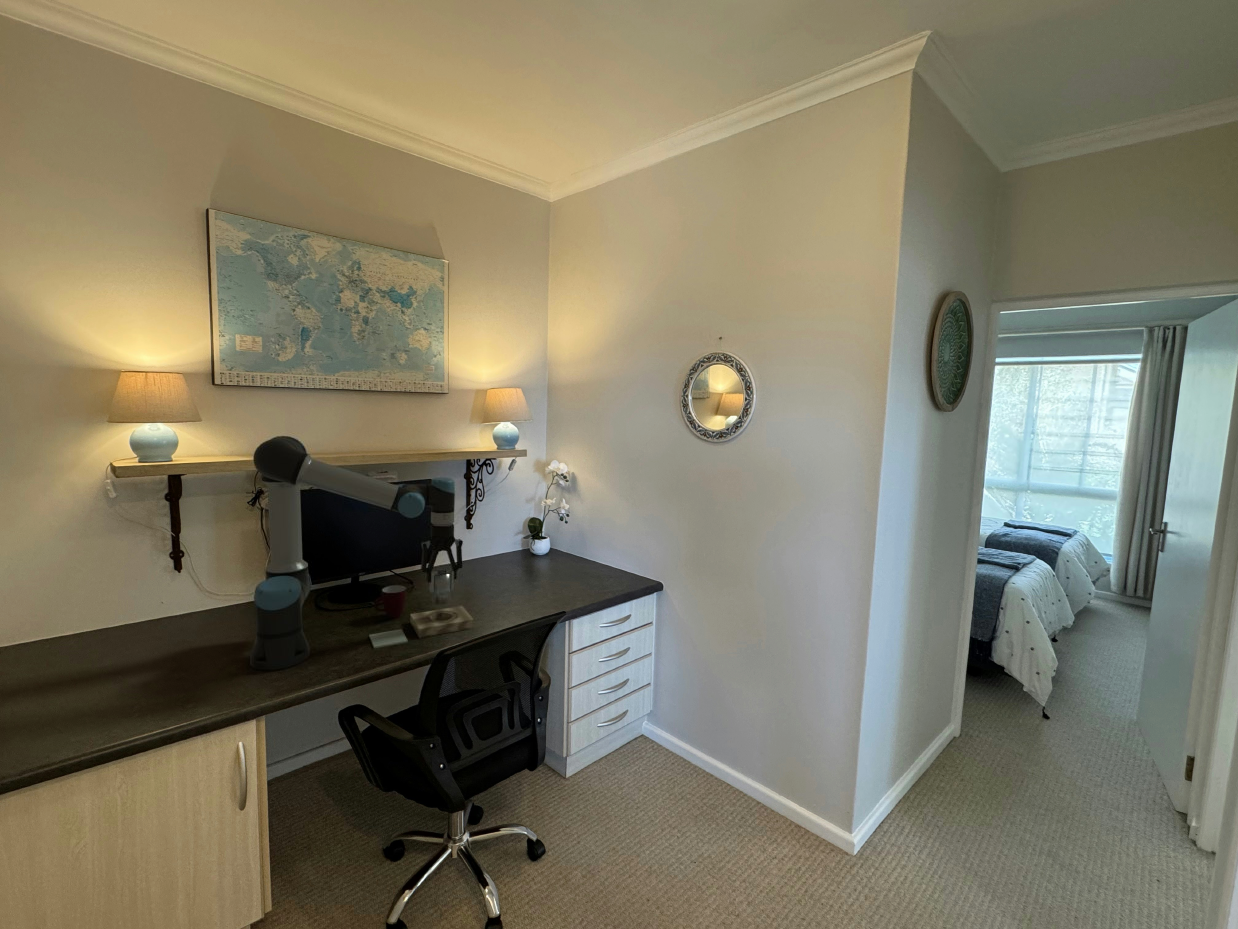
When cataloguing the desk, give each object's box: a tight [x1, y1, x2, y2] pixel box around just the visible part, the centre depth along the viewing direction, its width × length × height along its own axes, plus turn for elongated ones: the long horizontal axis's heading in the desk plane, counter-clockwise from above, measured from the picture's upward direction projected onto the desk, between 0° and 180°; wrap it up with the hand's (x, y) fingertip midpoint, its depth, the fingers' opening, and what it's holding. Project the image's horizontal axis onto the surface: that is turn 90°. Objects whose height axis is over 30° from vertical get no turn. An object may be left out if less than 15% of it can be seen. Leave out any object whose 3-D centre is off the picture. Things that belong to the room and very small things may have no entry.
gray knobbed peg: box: [431, 568, 452, 605], centre depth 197 cm, size 6×6×11 cm
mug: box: [373, 584, 407, 619], centre depth 203 cm, size 11×8×10 cm
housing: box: [409, 605, 475, 639], centre depth 198 cm, size 18×14×3 cm
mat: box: [368, 629, 409, 650], centre depth 186 cm, size 10×10×1 cm
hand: (441, 589), depth 197 cm, fingers closed on gray knobbed peg, 6 cm apart
